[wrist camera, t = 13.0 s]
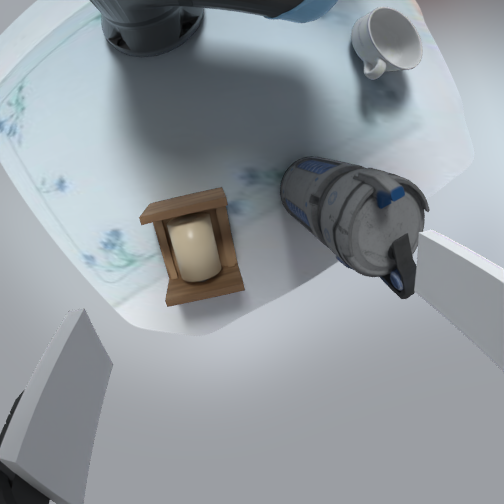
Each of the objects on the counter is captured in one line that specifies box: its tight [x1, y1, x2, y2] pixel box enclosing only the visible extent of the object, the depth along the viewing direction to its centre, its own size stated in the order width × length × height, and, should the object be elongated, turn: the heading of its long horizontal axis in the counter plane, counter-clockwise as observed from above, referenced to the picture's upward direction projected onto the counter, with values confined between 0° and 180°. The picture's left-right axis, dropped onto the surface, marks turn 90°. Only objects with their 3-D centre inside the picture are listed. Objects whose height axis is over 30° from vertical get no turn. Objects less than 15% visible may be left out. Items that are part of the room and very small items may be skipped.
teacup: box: [351, 7, 423, 80], centre depth 34 cm, size 14×11×8 cm
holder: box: [139, 187, 245, 307], centre depth 41 cm, size 13×11×8 cm
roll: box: [167, 212, 221, 282], centre depth 41 cm, size 8×6×6 cm
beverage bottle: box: [280, 157, 429, 299], centre depth 34 cm, size 10×13×25 cm
